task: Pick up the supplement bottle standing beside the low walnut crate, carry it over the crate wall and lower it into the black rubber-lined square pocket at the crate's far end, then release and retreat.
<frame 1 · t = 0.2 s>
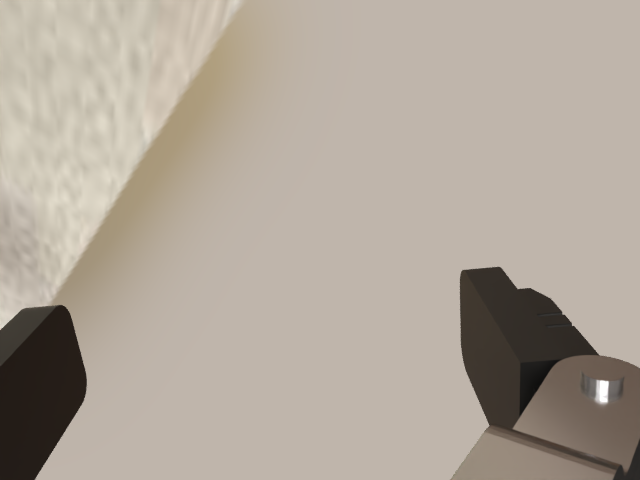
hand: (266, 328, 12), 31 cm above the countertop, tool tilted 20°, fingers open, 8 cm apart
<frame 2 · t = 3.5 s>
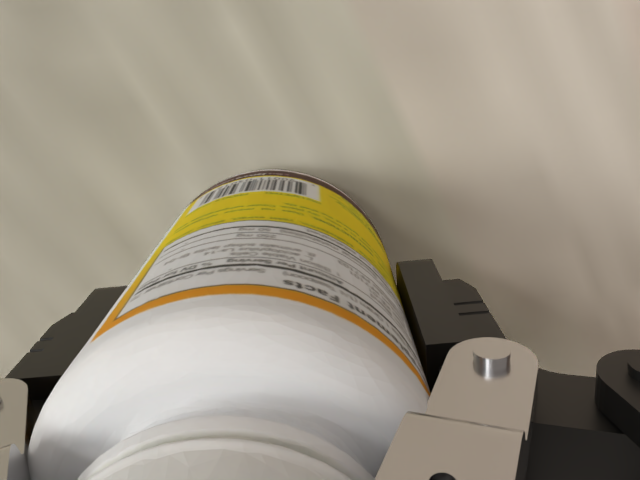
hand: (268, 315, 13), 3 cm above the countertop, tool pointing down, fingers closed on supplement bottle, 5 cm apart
supplement bottle: (278, 266, 15), on the countertop, touching gripper
when the fingers open (5 cm above the countertop, at t = 9.0 s): supplement bottle drops 1 cm, resting on walnut crate.
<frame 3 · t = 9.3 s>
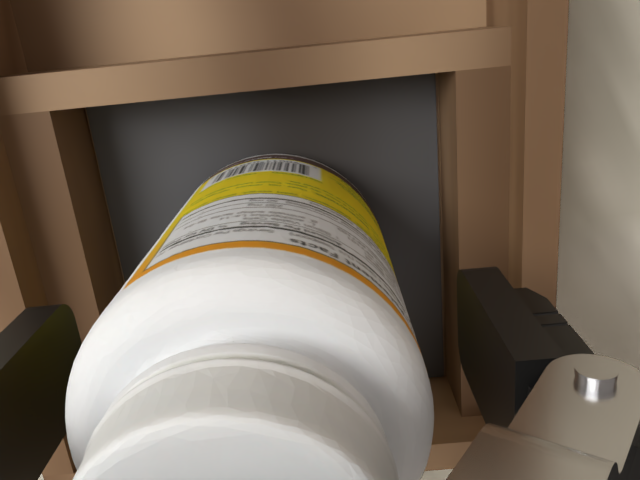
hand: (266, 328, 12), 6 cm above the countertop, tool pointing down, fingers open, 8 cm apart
walnut crate: (270, 146, 16), on the countertop
supplement bottle: (281, 246, 16), point 1 cm above the countertop, touching walnut crate
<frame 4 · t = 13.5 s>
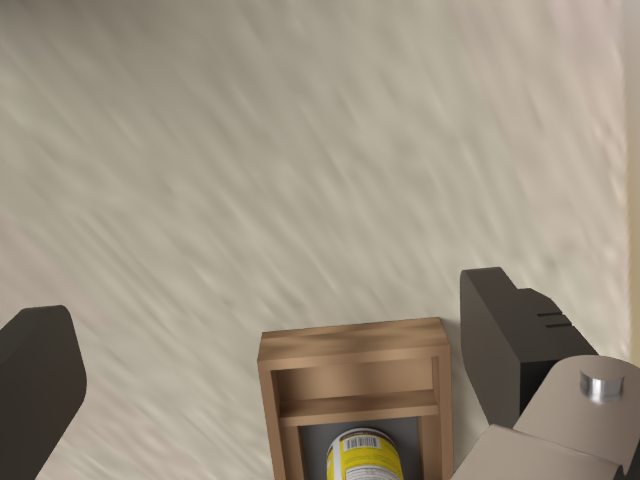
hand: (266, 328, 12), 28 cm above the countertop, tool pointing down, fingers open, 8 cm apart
walnut crate: (358, 416, 46), on the countertop
supplement bottle: (362, 451, 46), point 1 cm above the countertop, touching walnut crate
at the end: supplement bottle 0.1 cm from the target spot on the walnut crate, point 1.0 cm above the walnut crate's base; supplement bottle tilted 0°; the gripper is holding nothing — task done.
